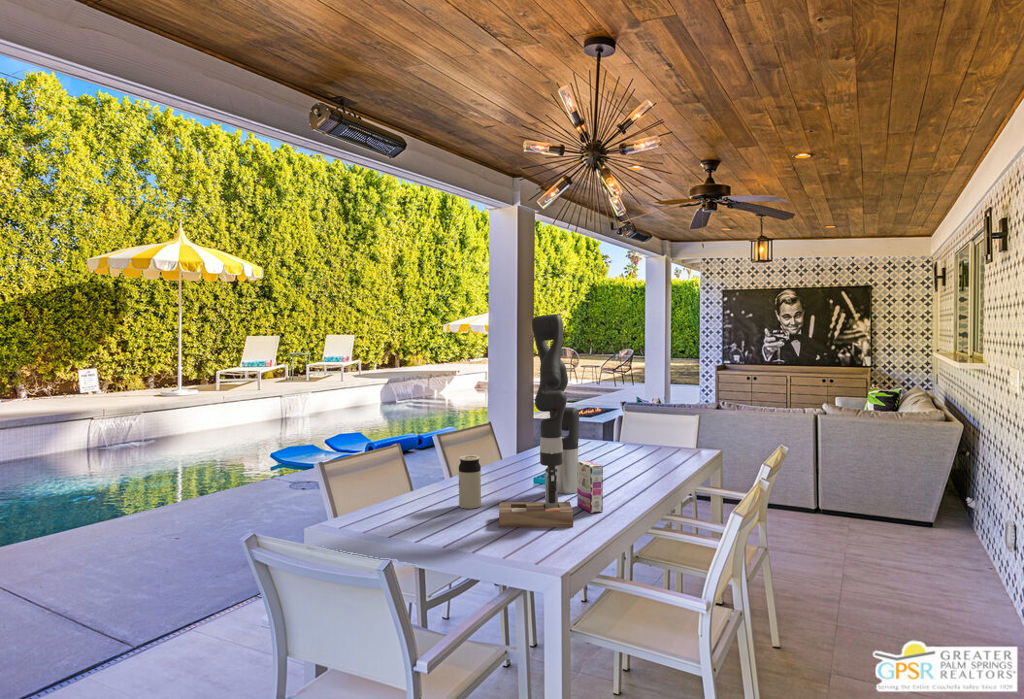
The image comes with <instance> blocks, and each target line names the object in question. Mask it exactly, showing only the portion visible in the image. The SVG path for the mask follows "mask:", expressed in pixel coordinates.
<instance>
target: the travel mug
mask: <svg viewBox="0 0 1024 699" xmlns="http://www.w3.org/2000/svg"><path fill="white" fill-rule="evenodd" d="M458 459H459V462H460V463H459V465H458V506H459V508H461V509H464V510H474V509H478V508H480V507H481V506H482V479H481V478H482V477H481V476H482V474H481V468H482V466H481V464H480V459H481V457H480V456H479V455H475V454H473V455H471V454H470V455H469V454H468V455H461V456H459V458H458Z"/></svg>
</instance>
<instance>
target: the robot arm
mask: <svg viewBox="0 0 1024 699" xmlns="http://www.w3.org/2000/svg"><path fill="white" fill-rule="evenodd" d="M531 330H532V334H533V338H534V342H535V346H536V348H537V353H538V356H539V362H540V367H539V385H538V389H537V392H536V394H535V398H534V405H535V409H536V410H538V412H542V413H543V412H544V413H545V412H547V413H548V412H549V417H547V418H544V419H542V420H541V421H540V440H539V463H540V465H541V466H543V467H544V466H545V467H546V466H547V467H546V468H545V469H544V471H545V472H544V473H545V474H544V475H545V478H546V479H547V485H548V492H549V503H555V492H556V490H557V489H556V484H557V480H558V494H565V495H566V494H567V495H568V494H575V493H577V462H578V461H579V439H580V438H579V433H580V432H579V431H580V412H579V409H578V408H577V407H573V406H572V407H570V406H569V407H568V406H567V402H568V398H567V394H566V392H565V390H566V388H567V387H568V383H569V376H568V372H567V367H566V364H565V363H564V361H563V360H562V359H561V358H562V351H563V342H564V322H563V319H562V316H561V315H560V313H559V314H556V313H553V314H545V315H538V316H534V317H533V318H532V320H531ZM546 341H547V342H548V341H552V344H551V346H550V347H549V345H548V343H547V342H546ZM562 431H563V432H565V431H566V432H567V431H568V435H566V436H564V437H562V436H563V434H562V433H563V432H562ZM548 480H549V481H548ZM550 486H554V488H550Z"/></svg>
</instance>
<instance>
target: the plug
mask: <svg viewBox="0 0 1024 699" xmlns="http://www.w3.org/2000/svg"><path fill="white" fill-rule="evenodd" d="M548 481H549V480H548ZM544 485H545V486H544V487H545V488H544V490H545V491H544V493H545V496H544V500H545V501H544V502H545V508H558V502H559V493H558V480H557V484H556V489H557V490H556V492H555V503H549V492H548V485H547V479H546V477H545V478H544ZM550 488H554V486H550Z"/></svg>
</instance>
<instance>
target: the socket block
mask: <svg viewBox="0 0 1024 699" xmlns="http://www.w3.org/2000/svg"><path fill="white" fill-rule="evenodd" d="M498 510H499V511H498V528H499V527H519V528H573V527H574V510H573V507H572V505H571V502H570V501H558V508H545V501H539V502H538V501H535V502H533V501H532V502H530V501H529V502H528V501H526V502H523V501H522V502H512V501H511V502H499V506H498Z"/></svg>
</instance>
